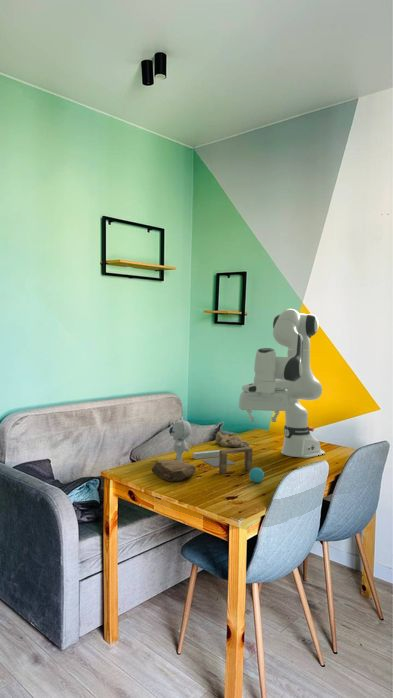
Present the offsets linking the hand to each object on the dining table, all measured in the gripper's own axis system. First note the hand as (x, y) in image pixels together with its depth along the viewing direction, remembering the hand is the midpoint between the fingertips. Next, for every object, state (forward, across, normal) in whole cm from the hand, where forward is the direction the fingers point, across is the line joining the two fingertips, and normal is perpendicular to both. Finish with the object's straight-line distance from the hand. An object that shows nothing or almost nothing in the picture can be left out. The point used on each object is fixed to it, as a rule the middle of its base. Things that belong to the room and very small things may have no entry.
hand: (262, 421), depth 193 cm
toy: (+25, +29, -34) cm, 51 cm away
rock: (+26, +35, -10) cm, 44 cm away
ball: (+22, +2, 0) cm, 22 cm away
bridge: (+25, +7, -15) cm, 30 cm away
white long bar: (+24, +14, -40) cm, 49 cm away
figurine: (+24, -2, -61) cm, 65 cm away
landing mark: (+24, +11, -30) cm, 40 cm away
